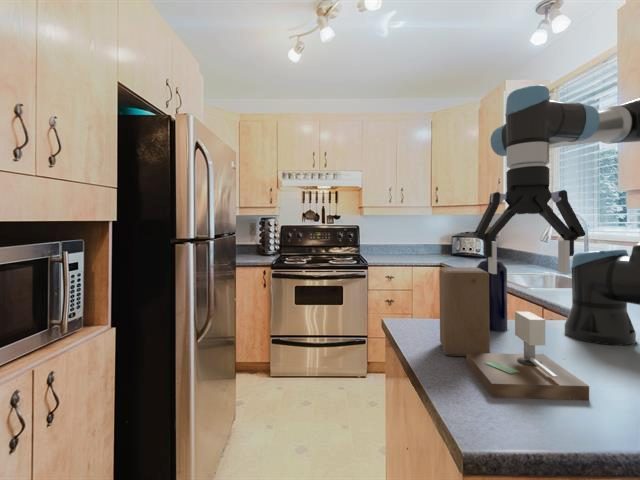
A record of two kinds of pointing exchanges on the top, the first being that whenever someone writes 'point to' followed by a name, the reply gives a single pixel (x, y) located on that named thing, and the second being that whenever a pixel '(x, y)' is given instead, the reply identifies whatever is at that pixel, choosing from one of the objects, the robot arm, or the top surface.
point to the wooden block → (464, 310)
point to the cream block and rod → (531, 336)
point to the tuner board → (525, 377)
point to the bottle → (497, 295)
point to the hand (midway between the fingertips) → (527, 273)
